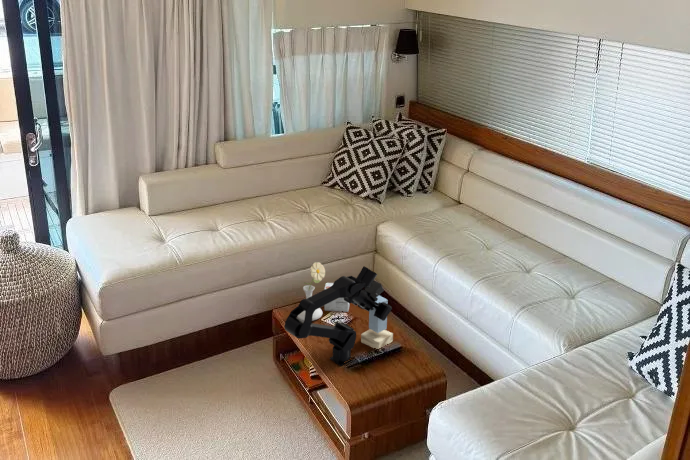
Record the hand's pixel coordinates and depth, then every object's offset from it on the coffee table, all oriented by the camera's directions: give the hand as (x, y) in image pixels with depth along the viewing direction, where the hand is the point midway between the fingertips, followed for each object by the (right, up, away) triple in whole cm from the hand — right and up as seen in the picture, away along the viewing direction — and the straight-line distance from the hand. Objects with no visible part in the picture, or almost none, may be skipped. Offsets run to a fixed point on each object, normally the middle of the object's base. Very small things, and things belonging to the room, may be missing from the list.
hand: (380, 312), depth 267 cm
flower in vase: (-29, -4, +23) cm, 37 cm away
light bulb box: (-18, -2, +29) cm, 34 cm away
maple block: (-1, -13, +5) cm, 13 cm away
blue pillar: (-1, -7, +2) cm, 7 cm away
